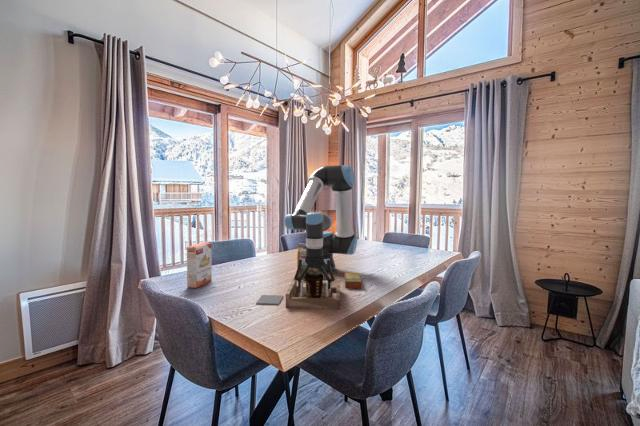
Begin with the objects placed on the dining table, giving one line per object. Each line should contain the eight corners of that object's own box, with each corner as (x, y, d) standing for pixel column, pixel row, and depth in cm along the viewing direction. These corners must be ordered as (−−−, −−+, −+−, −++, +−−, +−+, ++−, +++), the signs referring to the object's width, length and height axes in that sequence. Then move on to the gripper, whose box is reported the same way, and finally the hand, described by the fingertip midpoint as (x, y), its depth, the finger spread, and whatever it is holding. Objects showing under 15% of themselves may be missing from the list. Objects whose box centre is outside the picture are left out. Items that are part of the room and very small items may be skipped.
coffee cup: (313, 296, 143) (313, 269, 142) (327, 300, 138) (327, 272, 136) (300, 301, 136) (300, 273, 135) (315, 306, 131) (315, 276, 130)
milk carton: (318, 273, 180) (318, 242, 178) (316, 279, 169) (316, 245, 168) (300, 273, 181) (300, 241, 179) (297, 278, 170) (297, 245, 169)
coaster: (262, 296, 142) (262, 294, 142) (283, 296, 142) (283, 295, 142) (256, 304, 133) (256, 302, 132) (278, 305, 132) (278, 303, 132)
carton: (358, 280, 169) (359, 272, 169) (361, 289, 153) (362, 281, 153) (344, 279, 170) (344, 272, 169) (345, 289, 154) (345, 281, 153)
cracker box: (197, 288, 152) (196, 247, 151) (186, 287, 154) (185, 247, 152) (212, 280, 166) (211, 242, 164) (202, 279, 167) (201, 242, 166)
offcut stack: (302, 291, 149) (302, 279, 149) (330, 292, 148) (330, 280, 148) (300, 295, 144) (300, 283, 144) (330, 295, 143) (330, 283, 143)
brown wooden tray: (293, 289, 152) (293, 278, 151) (340, 291, 150) (340, 279, 149) (285, 307, 129) (285, 293, 129) (339, 309, 128) (339, 295, 127)
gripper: (287, 248, 132) (287, 297, 134) (340, 249, 130) (340, 299, 132) (290, 245, 139) (290, 292, 141) (340, 246, 138) (340, 293, 140)
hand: (314, 295), depth 137 cm, fingers open, 11 cm apart
